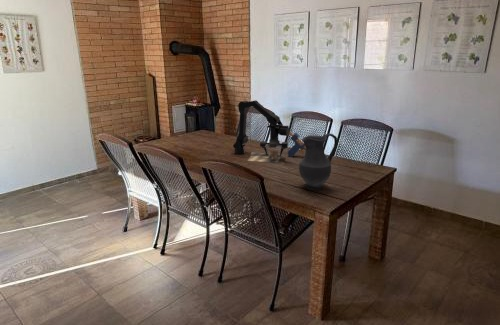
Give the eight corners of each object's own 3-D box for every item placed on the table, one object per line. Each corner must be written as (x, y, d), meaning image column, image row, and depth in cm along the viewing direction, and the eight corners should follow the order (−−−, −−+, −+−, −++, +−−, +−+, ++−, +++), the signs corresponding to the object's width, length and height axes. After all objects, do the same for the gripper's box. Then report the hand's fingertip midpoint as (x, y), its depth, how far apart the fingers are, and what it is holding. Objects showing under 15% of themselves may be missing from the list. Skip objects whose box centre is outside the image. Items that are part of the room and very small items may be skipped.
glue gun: (310, 172, 247) (323, 157, 240) (276, 146, 246) (289, 130, 239) (310, 169, 252) (324, 154, 246) (277, 143, 251) (290, 128, 245)
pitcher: (294, 183, 198) (296, 131, 189) (327, 180, 202) (330, 130, 193) (305, 194, 181) (308, 139, 172) (341, 191, 186) (345, 137, 177)
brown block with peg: (269, 161, 233) (269, 154, 232) (271, 156, 242) (271, 150, 241) (275, 161, 232) (275, 154, 231) (277, 157, 242) (277, 150, 240)
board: (247, 162, 235) (247, 157, 234) (251, 157, 248) (251, 152, 247) (277, 164, 231) (278, 159, 229) (280, 158, 244) (280, 153, 243)
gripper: (258, 136, 228) (258, 158, 233) (286, 137, 224) (286, 160, 229) (261, 132, 238) (261, 154, 243) (288, 134, 235) (287, 155, 239)
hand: (273, 156), depth 238 cm, fingers open, 9 cm apart
